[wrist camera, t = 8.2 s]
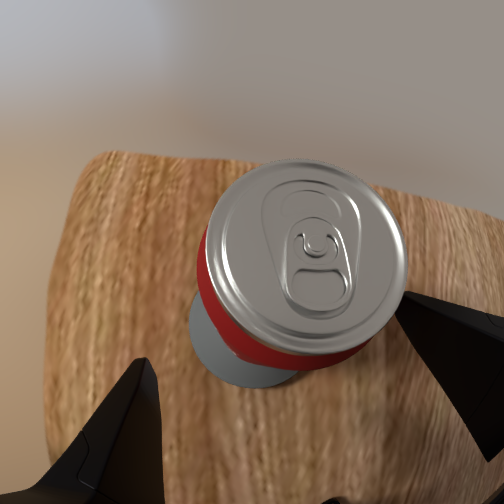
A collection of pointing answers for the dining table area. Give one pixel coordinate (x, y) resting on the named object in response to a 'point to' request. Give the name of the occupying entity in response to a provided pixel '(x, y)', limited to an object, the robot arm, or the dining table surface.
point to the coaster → (227, 354)
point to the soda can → (300, 265)
